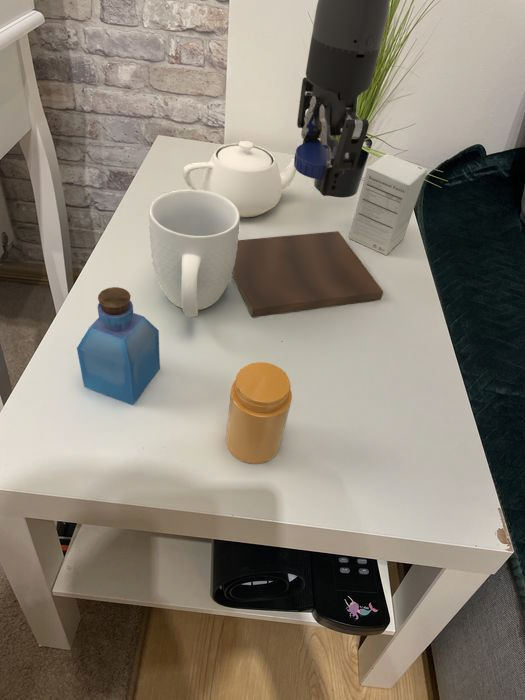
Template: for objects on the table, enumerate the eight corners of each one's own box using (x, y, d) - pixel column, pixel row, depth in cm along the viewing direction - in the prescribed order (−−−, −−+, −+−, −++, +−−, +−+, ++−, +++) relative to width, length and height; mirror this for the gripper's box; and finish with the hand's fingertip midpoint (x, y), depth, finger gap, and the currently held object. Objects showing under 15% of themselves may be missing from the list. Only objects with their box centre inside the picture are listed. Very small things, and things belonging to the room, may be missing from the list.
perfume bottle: (84, 386, 59) (68, 305, 50) (113, 351, 63) (104, 271, 55) (133, 405, 58) (125, 325, 49) (159, 368, 62) (157, 289, 54)
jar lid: (342, 157, 69) (345, 143, 68) (347, 181, 65) (350, 167, 63) (293, 153, 69) (294, 139, 68) (294, 178, 64) (296, 163, 63)
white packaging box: (366, 221, 92) (386, 152, 83) (404, 238, 89) (429, 168, 81) (346, 238, 87) (366, 166, 78) (386, 256, 85) (410, 184, 76)
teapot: (192, 229, 84) (193, 165, 76) (173, 187, 93) (173, 126, 85) (316, 219, 91) (329, 159, 83) (288, 180, 99) (297, 123, 92)
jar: (270, 413, 59) (282, 354, 53) (288, 457, 55) (304, 399, 49) (219, 423, 57) (224, 363, 51) (234, 469, 54) (242, 411, 47)
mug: (232, 345, 66) (241, 260, 57) (144, 340, 65) (138, 252, 56) (232, 273, 77) (240, 192, 68) (156, 268, 76) (153, 184, 66)
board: (336, 238, 87) (338, 230, 86) (381, 299, 77) (384, 291, 76) (220, 249, 81) (220, 241, 80) (251, 317, 70) (253, 309, 69)
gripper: (291, 15, 60) (271, 156, 71) (343, 58, 51) (311, 211, 62) (349, 18, 62) (321, 154, 74) (410, 60, 53) (367, 207, 65)
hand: (317, 180), depth 68 cm, fingers closed on jar lid, 6 cm apart
